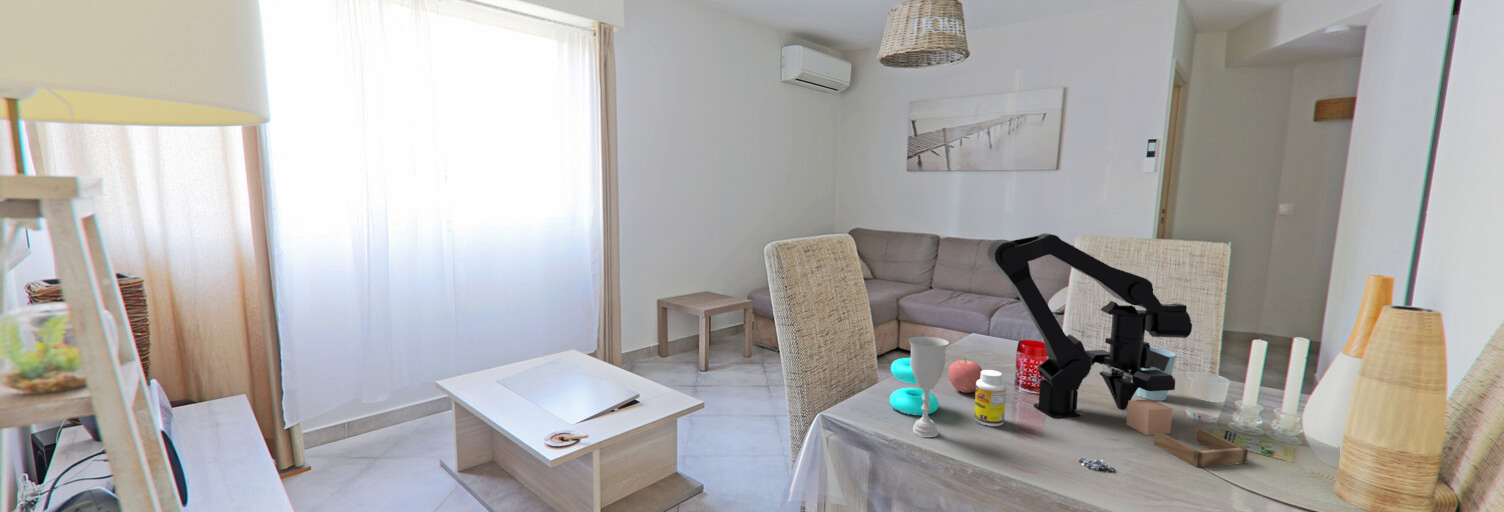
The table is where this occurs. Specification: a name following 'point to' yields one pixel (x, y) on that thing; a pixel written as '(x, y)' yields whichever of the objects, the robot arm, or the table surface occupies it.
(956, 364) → the apple
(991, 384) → the supplement bottle
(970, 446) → the table surface
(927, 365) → the chalice
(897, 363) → the donuts
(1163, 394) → the cup
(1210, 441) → the frame
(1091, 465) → the metal chain
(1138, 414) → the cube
